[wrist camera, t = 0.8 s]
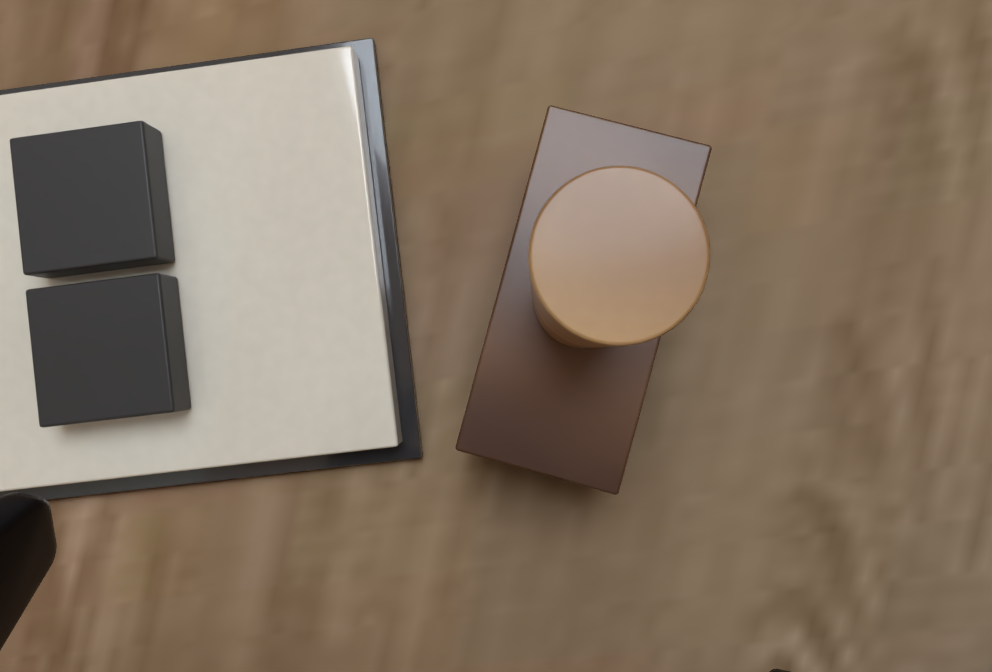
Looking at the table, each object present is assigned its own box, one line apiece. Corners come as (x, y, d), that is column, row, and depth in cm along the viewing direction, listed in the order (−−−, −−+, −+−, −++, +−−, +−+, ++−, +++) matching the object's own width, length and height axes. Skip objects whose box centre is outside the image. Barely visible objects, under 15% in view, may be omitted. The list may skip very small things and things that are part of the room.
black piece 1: (162, 130, 24) (142, 119, 23) (176, 262, 24) (157, 258, 23) (34, 148, 24) (7, 138, 23) (47, 279, 24) (22, 275, 23)
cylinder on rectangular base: (606, 474, 24) (683, 616, 11) (467, 435, 24) (384, 530, 11) (686, 175, 24) (857, -26, 11) (547, 140, 24) (556, -98, 12)
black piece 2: (178, 276, 24) (159, 271, 23) (192, 409, 24) (174, 412, 23) (49, 292, 24) (23, 289, 23) (63, 424, 24) (38, 428, 23)
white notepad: (374, 40, 25) (366, 25, 24) (423, 456, 25) (417, 462, 23) (-84, 105, 26) (-115, 93, 24) (-44, 509, 25) (-73, 517, 24)
